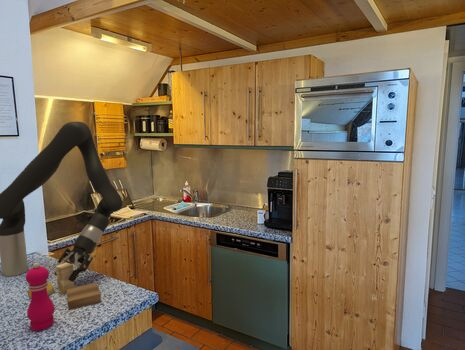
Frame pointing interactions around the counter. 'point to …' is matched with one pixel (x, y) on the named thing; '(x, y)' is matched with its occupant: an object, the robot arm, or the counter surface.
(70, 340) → the counter surface
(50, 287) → the bread roll
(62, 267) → the beech block
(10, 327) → the counter surface
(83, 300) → the walnut block
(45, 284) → the pepper mill
